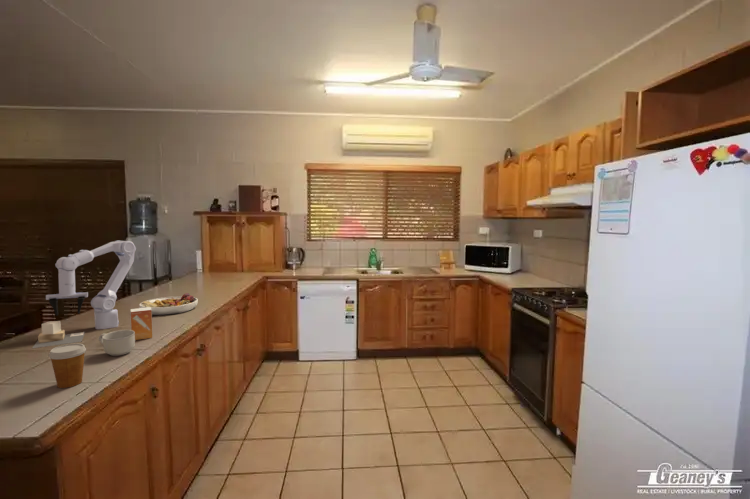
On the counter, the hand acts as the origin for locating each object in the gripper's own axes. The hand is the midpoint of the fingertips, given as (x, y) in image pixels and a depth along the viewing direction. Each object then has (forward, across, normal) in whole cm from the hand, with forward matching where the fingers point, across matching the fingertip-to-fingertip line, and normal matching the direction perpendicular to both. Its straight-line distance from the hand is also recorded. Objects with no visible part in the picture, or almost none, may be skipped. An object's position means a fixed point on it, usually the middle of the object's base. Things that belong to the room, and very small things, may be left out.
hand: (68, 314), depth 171 cm
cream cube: (+7, +5, +4) cm, 9 cm away
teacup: (+11, -19, +35) cm, 41 cm away
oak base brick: (+10, +5, +4) cm, 12 cm away
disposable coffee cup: (+11, -6, +61) cm, 62 cm away
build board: (+10, +2, +6) cm, 12 cm away
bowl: (+10, -43, -34) cm, 56 cm away
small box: (+10, -28, +18) cm, 34 cm away
